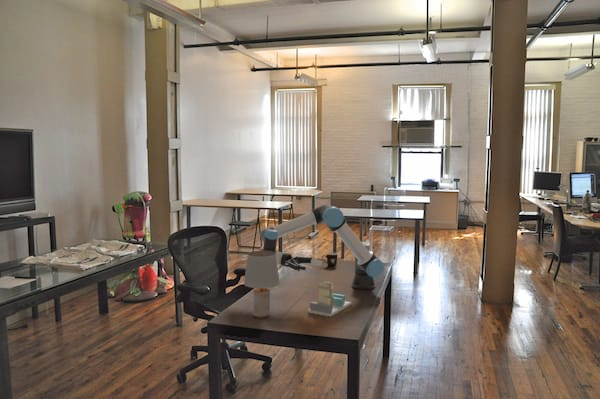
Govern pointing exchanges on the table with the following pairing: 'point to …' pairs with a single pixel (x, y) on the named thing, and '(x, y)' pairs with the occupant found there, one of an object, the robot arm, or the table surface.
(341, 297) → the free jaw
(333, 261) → the coffee mug
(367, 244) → the hard drive box
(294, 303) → the table surface
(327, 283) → the birch block
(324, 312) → the bed
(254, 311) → the lamp
